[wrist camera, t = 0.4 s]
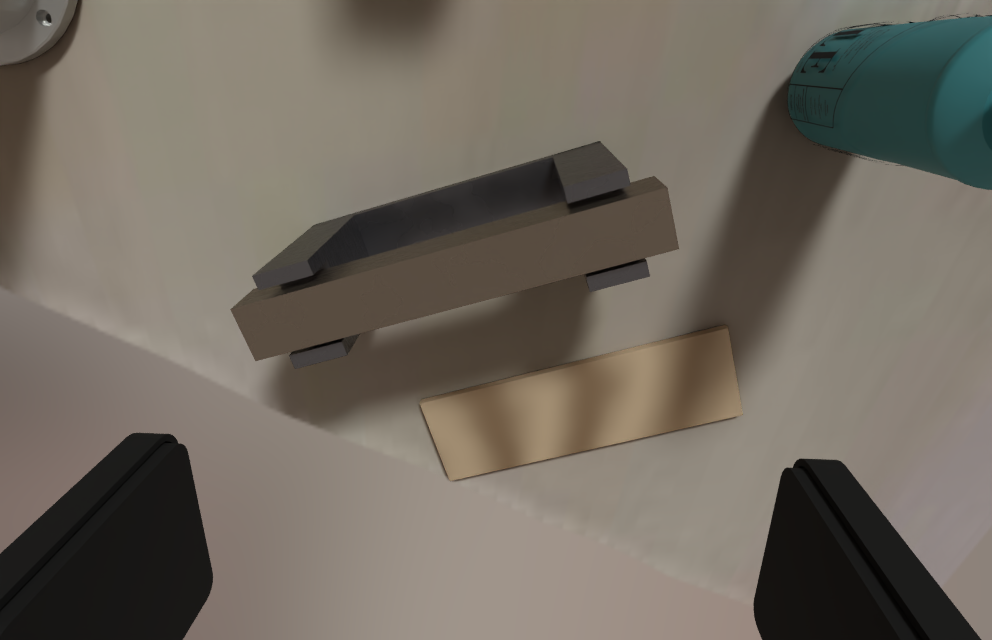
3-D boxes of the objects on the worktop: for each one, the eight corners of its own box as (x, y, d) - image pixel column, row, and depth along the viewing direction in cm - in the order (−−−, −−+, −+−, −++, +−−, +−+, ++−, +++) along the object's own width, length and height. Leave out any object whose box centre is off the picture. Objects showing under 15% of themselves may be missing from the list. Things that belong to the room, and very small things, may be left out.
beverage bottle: (838, 163, 39) (1134, 260, 20) (748, 112, 38) (970, 164, 19) (911, 60, 36) (1320, 62, 18) (816, 2, 35) (1146, -58, 17)
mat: (450, 476, 48) (449, 481, 48) (420, 399, 46) (419, 403, 45) (740, 410, 45) (742, 415, 45) (725, 324, 43) (728, 328, 42)
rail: (276, 337, 35) (255, 361, 33) (253, 289, 34) (230, 309, 32) (665, 232, 32) (679, 249, 30) (654, 175, 31) (667, 187, 29)
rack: (344, 299, 43) (295, 368, 33) (314, 224, 41) (252, 275, 31) (618, 224, 40) (649, 276, 31) (599, 141, 38) (627, 169, 29)
